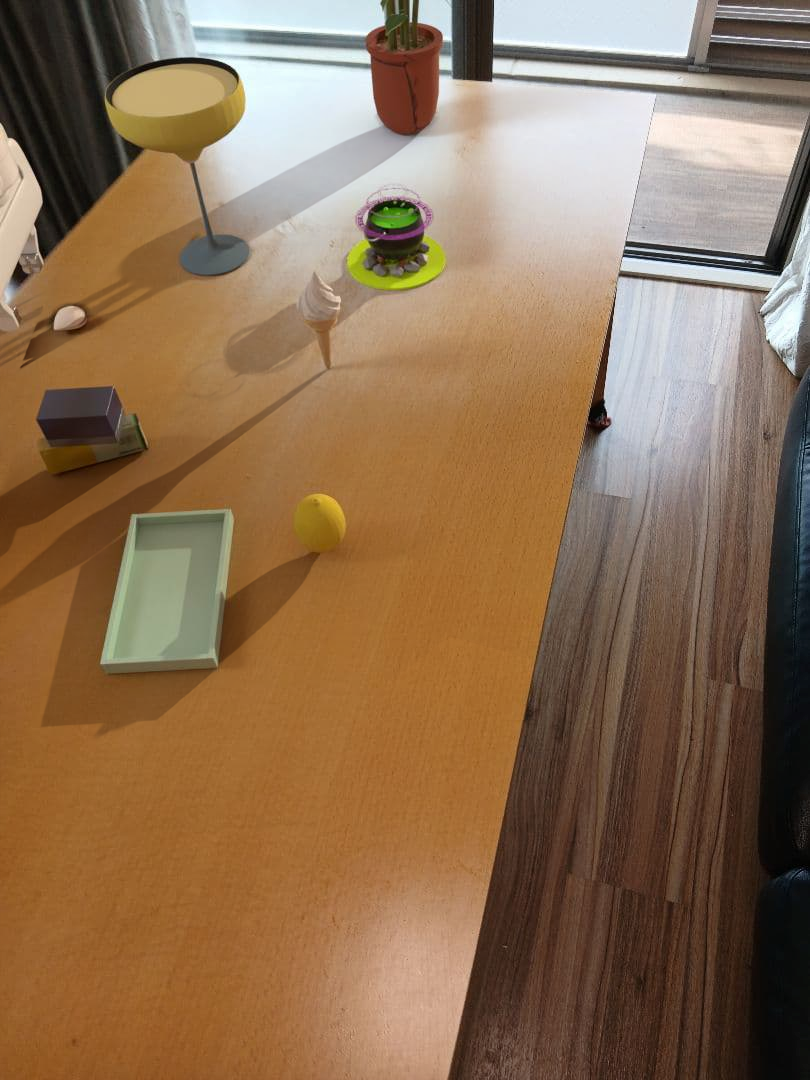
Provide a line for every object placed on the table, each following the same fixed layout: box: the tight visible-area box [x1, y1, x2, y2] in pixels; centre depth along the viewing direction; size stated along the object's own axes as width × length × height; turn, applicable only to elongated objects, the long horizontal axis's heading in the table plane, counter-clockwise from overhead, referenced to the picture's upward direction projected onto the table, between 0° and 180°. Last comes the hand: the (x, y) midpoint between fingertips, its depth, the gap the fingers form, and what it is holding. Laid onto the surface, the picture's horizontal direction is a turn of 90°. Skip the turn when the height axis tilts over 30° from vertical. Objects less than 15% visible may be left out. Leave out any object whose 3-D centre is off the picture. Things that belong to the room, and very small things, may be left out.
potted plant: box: [364, 0, 452, 136], centre depth 134 cm, size 17×16×35 cm
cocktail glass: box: [104, 56, 250, 277], centre depth 116 cm, size 18×18×25 cm
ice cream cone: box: [295, 270, 342, 370], centre depth 103 cm, size 6×6×15 cm
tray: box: [99, 508, 235, 675], centre depth 87 cm, size 11×19×2 cm, turn 2°
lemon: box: [293, 493, 347, 554], centre depth 87 cm, size 6×6×8 cm
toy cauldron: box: [346, 183, 447, 291], centre depth 119 cm, size 15×15×11 cm
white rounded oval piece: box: [53, 305, 88, 331], centre depth 115 cm, size 4×5×2 cm
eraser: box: [35, 385, 126, 447], centre depth 95 cm, size 8×5×4 cm, turn 93°
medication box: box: [37, 412, 149, 476], centre depth 99 cm, size 12×3×4 cm, turn 112°
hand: (24, 297), depth 82 cm, fingers open, 8 cm apart
